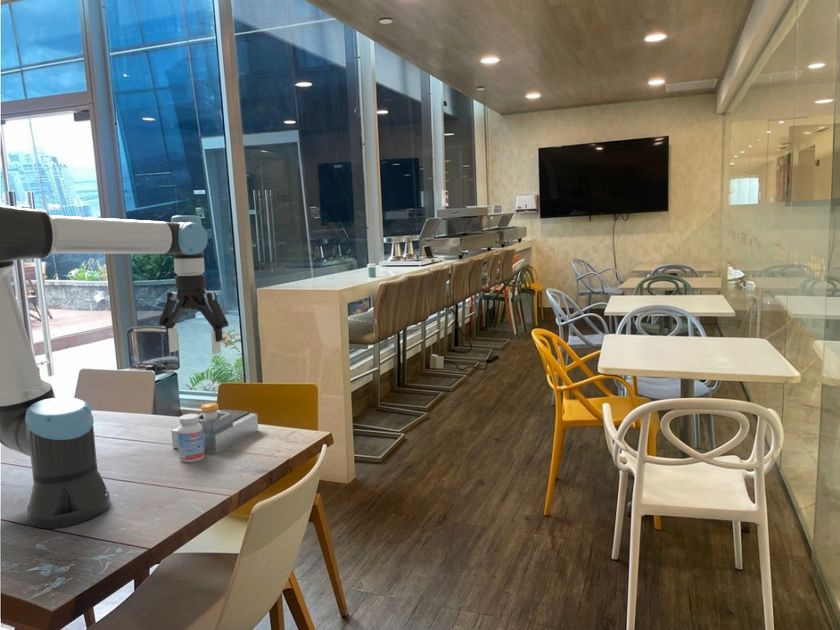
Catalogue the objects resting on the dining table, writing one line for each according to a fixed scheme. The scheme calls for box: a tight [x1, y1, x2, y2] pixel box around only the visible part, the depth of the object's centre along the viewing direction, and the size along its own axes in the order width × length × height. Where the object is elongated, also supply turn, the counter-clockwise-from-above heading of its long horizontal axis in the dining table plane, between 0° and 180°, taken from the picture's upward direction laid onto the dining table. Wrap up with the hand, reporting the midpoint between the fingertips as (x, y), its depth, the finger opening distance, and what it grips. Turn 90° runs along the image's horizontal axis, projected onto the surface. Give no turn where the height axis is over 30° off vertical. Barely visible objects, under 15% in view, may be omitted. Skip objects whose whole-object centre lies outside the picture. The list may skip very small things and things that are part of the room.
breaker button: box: [200, 402, 219, 421], centre depth 166 cm, size 4×4×8 cm
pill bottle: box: [177, 413, 205, 463], centre depth 157 cm, size 6×6×11 cm
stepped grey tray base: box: [171, 409, 259, 455], centre depth 171 cm, size 19×14×8 cm
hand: (195, 352), depth 167 cm, fingers open, 13 cm apart
